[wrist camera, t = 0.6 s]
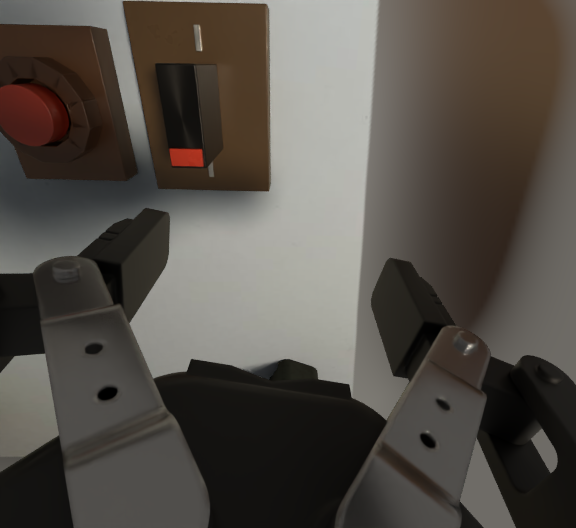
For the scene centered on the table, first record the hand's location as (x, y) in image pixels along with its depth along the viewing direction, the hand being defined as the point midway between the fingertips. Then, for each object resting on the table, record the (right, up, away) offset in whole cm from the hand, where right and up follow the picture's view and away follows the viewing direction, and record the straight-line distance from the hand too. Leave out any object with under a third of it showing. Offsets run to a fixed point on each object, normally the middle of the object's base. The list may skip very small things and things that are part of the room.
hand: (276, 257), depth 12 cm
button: (-16, +10, +10) cm, 22 cm away
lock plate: (-5, +12, +13) cm, 18 cm away
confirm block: (-16, +12, +13) cm, 24 cm away
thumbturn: (-5, +11, +11) cm, 17 cm away
